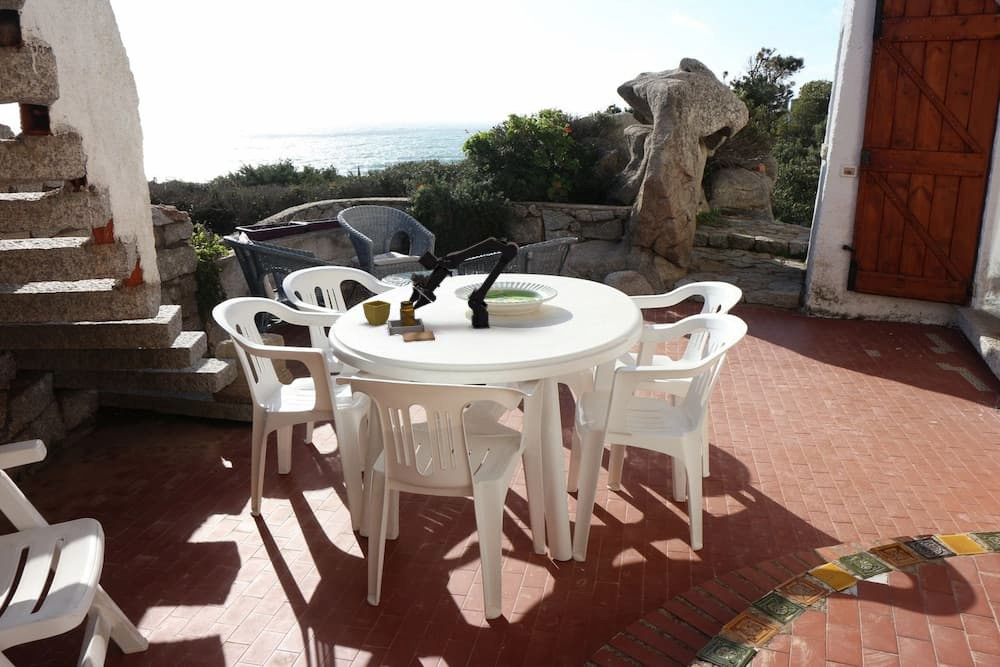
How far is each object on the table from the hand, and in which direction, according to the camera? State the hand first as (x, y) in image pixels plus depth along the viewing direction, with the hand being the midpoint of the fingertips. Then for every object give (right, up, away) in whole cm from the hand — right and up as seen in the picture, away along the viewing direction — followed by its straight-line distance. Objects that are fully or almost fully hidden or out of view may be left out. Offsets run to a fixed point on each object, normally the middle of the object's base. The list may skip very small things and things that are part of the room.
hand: (410, 306), depth 301 cm
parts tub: (-2, -9, +2) cm, 10 cm away
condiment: (-2, -10, +2) cm, 10 cm away
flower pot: (-16, -7, +13) cm, 21 cm away
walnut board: (+4, -13, -10) cm, 17 cm away
